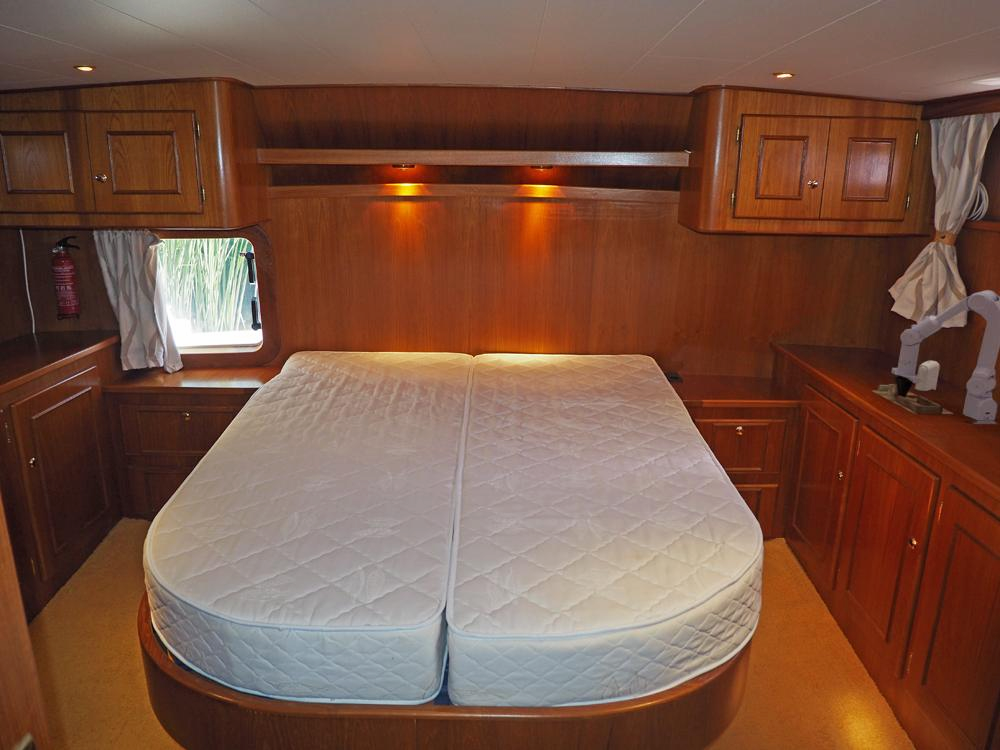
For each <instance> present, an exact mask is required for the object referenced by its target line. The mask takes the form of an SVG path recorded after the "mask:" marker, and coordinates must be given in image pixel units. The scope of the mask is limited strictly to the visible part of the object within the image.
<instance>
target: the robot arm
mask: <svg viewBox="0 0 1000 750" xmlns="http://www.w3.org/2000/svg"><path fill="white" fill-rule="evenodd" d="M969 311H973V312H975V313H977V314H979V315H981V317H983V318H984V320H986V326H985V329H984V334H983V337H982V341H981V342H982V343H981V345H980V350H979V355H978V358H977V362H976V367H975V368H974V369H973V372H972V375H971V377H970V378H969V380H968V381H967V382H966V390H967V391H966V395H965V400H964V401H965V402H964V405H963V411H962V414H963V415H964V416H966V417H969V418H971V419H974V420H968V422H969V423H972V424H973V425H997V422H996V420H995V419H996V417H997V416H996V415H997V410H998V403H997V402H996V401H995V400H994V399H993V392H992V390H993V389H995V387H996V386H997V380H996V370H995V367H996V362H997V359H998V354H999V351H1000V295H998V294H997V292H995V291H993V290H990V289H985V290H982V291H979V292H974V293H972V294H971V295H969V296H966V297H964V298H962V299H960V300H958V301H956V302H955V303H954V304H953V305H951V306H949V307H948V308H947V309H945V310H943V311H942V312H940V313H939V314H937V315H926V316H924V317H922V320H920V321H919V322H917V323H916V324H912V325H910V326H911V328H907V329H904V331H903V332H901V334H900V341H901V345H900V351H899V359H898V365H897V367H892V368H891V374H894V375H896V376H895V377H894V381H895V384H896V385H897V390H898V396H902V397H906V396H908V395H907V393H908V391H909V392H910V390H911V388H912V386H913V385H914V384H916V383H920V378H919V377H918V376H917V375H918V374H916V370H917V363H918V357H919V352H920V346H921V345H920V344H921V343H922V342H923V340H924V339H926V338H928V337H930V336H931V335H933V334H934V333H936V332H938V331H939V330H941V329H942V327H943V324H944V323H946V322H947V321H948V320H950V319H952V318H954V317H956V316H957V315H959V314H961V313H963V312H969Z"/></svg>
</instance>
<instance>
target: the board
mask: <svg viewBox="0 0 1000 750" xmlns="http://www.w3.org/2000/svg"><path fill="white" fill-rule="evenodd" d="M888 389H889V384H878V388H877V390H876V389H875V390H870V391H871V392H873V393H875V394H877V395H879V396H881V397H882V398H884V399H886V400H887V401H890V402H892V403H894V404H895V405H897V406H899V407H901V408H903V409H905V410H907V411H909V412H910V413H912V414H914V415H916V414H918V413H916V412H914V411H912V410H910V409H908V408H906V407H905V406H903V405H901V404H899V403H897V397H892V396H890V395H888ZM909 396H915V398H914V397H913V398H912V397H909ZM918 396H919V395H917V394H914V393H913V392H911V391H910V390H909V391H908V393H907V395H906V397H904V398H906V399H908V400H910V401H912V402H914V403H916V404H918V405H920V406H923V405H921V404H919V403H917V398H918ZM946 414H947V415H954V412H952V411H949V410H947V409H945V408H943V411H942V414H941V415H946ZM918 415H919V414H918Z"/></svg>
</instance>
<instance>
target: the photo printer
mask: <svg viewBox="0 0 1000 750" xmlns="http://www.w3.org/2000/svg"><path fill="white" fill-rule="evenodd" d="M939 372H940V363H939V362H938V361H936V360H927V361H925V362H922V363H921V364H920V365H919V366H918V369H917V374H916V375H917V376H918V377H919V378H920V383H915V386H914V389H915V390H917V391H923V392H927V391H931V390H934V391H936V389H937V385H938V384H937V383H938V378H939Z"/></svg>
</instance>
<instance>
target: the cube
mask: <svg viewBox="0 0 1000 750" xmlns="http://www.w3.org/2000/svg"><path fill="white" fill-rule="evenodd" d="M888 385H889V389H888V395H890V396H892V397H897V396H898V390H897V385H896V383H894V384H893V383H889V384H888Z"/></svg>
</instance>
